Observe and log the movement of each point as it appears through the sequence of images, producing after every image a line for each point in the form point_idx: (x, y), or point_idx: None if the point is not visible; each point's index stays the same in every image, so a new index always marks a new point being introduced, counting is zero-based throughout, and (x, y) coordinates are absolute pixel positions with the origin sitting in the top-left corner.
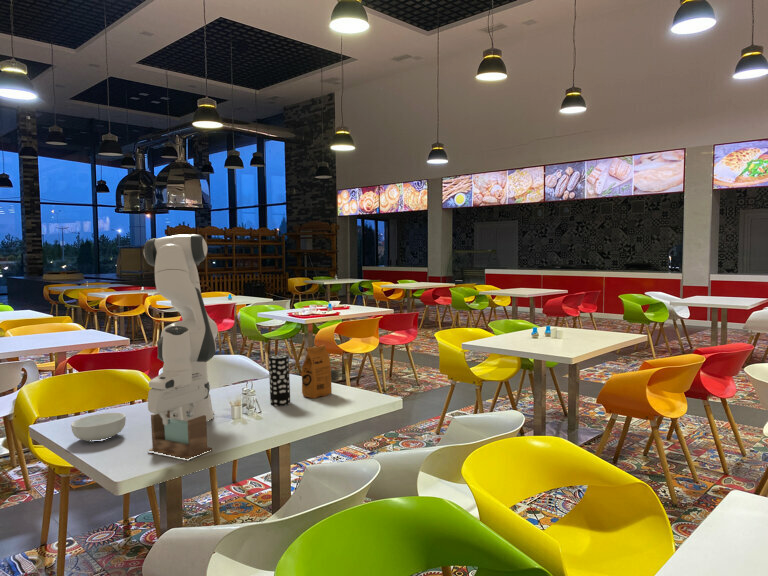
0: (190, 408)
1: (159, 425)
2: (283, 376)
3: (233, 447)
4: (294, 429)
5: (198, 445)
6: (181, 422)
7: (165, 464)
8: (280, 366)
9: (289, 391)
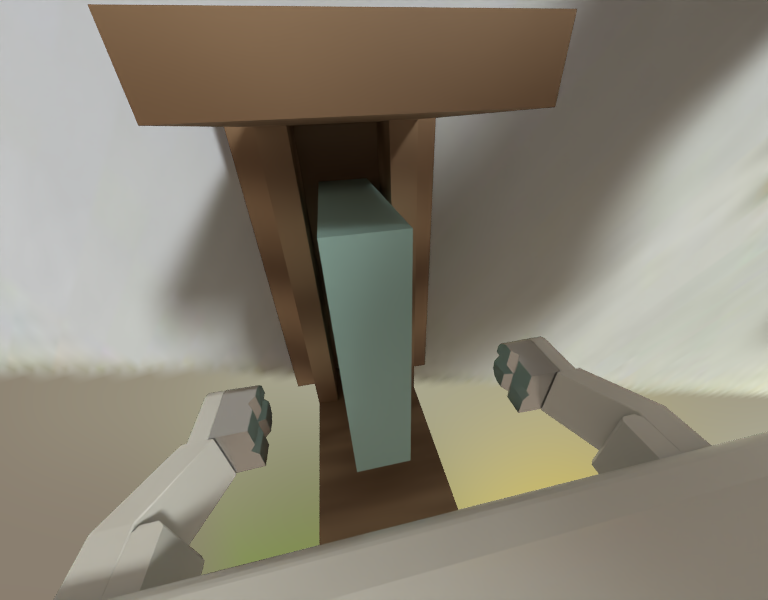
0: (575, 402)
1: (307, 122)
2: None
3: (475, 378)
4: (653, 385)
5: None
6: (366, 416)
7: (219, 342)
8: None
9: None
